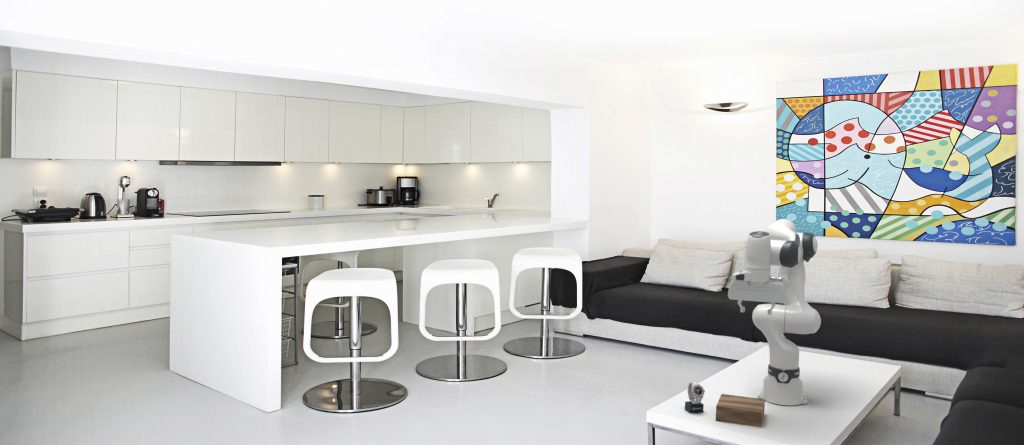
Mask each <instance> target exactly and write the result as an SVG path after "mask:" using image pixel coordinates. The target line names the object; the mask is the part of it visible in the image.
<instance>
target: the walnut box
mask: <svg viewBox="0 0 1024 445" xmlns="http://www.w3.org/2000/svg"><path fill="white" fill-rule="evenodd" d="M765 404H766V400H765V399H761V398H758V397H749V396H740V395H735V394H727V393H721V395H720V396H719V399H718V401H717V403H716V406H715V422H722V423H728V424H736V425H743V426H750V427H757V428H762V426H763V420H764V416H765V406H766V405H765Z"/></svg>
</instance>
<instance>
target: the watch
mask: <svg viewBox="0 0 1024 445" xmlns="http://www.w3.org/2000/svg"><path fill="white" fill-rule="evenodd" d="M704 395H705V389H704V387H703V386H702V385H701V384H700V383H699V382H696V381H693V382H692V381H691V382H689V383H688V385H687V396H688V399H689V401H684V410H685V411H686V412H688V413H689V414H698V413H699V414H700V413H704V403H702V400H703V399H704Z"/></svg>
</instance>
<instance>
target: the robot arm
mask: <svg viewBox="0 0 1024 445" xmlns="http://www.w3.org/2000/svg"><path fill="white" fill-rule="evenodd" d="M746 240H747V242H746V245H745V246H746V247H745V259H746V263H745V266H744V270H742V271H741V270H740V271H736V272H733V273H732V276H731V277H732V278H731V279H732V280H731V281H730V283H729V287H728V290H727V291H728V292H727V297H728V299H729V300H733V301H734V300H735V301H737V305H738V306H739V309H740V313H743V314H744V313H745V311H746V307H745V306H743V305H742V302H743V301H744V302H745V301H746V302H758V303H759V302H761V303H763V304H757V306H756V307H754V309H753V311H752V314H751V318H752V322H753V325H754V326H755V327H756V328H757V329H759V331H761V333H762V334H763V336H764V337H765V339H766V341H767V343H768V344H767V345H768V346H769V347H768V349H769V350H768V351H769V364H768V366H767V375H766V376H765V377H764V378H763V381H762V382H763V385H762V391H761V392H759V394H758V395H757V398H758V399H765V402H768V403H771V404H774V405H778V406H779V405H780V406H789V407H790V406H798V405H807V404H808V403H809V402H808V399H807V398H806V397H805V395H804V383H803V381H802V380H801V379H800V373H801V369H800V366H799V364H800V348H799V347H798V345H797V344H795V343H794V342H792V341H791V340H789V339H787V338H786V336H785V335H784V334H785V333H786V334H795V335H796V334H798V335H810V334H815V333H817V332H818V330H819V329H820V327H821V325H822V318H821V316H820V313H819V312H818V311H817V309H815V308H814V307H812V306H811V305H810V304H809V303H808V301H807V300H806V297H805V287H806V285H805V284H806V268H805V267H806V266H805V263H804V262H806V263H809V262H810V260H811V259H813V257H814V256H815V255H816V253H817V251H818V246H819V245H818V240H817V238H816V235H815V234H814V233H813V232H812V233H811V232H808V231H806V232H805V231H804V232H797V228H796V225H795V223H794V222H793V221H792V220H790V219H788V218H781V219H780V218H779V219H777V220H774V221H773V222H772V223H770V224H769V225H768V226H767V227H766V228H765V230H764V231H760V230H759V231H752V232H750V233H748V236H747V239H746ZM772 266H774V267H779V269H778V272H777V277H776V276H771V267H772Z"/></svg>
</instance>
